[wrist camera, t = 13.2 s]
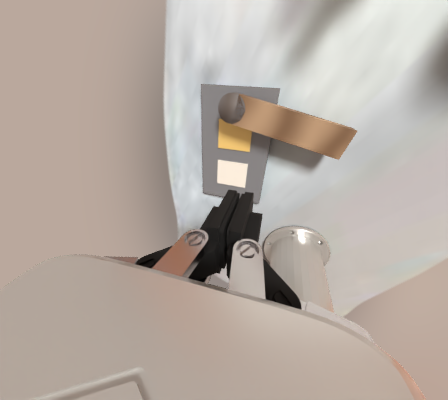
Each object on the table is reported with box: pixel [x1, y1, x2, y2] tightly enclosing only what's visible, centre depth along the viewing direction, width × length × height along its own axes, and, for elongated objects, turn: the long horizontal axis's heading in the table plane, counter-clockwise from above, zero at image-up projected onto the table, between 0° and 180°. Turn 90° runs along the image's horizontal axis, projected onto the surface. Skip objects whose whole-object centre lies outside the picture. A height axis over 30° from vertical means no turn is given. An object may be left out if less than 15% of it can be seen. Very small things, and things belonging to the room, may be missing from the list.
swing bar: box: [218, 92, 357, 160], centre depth 23 cm, size 17×4×2 cm, turn 76°
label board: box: [201, 84, 280, 203], centre depth 29 cm, size 18×11×2 cm, turn 178°
